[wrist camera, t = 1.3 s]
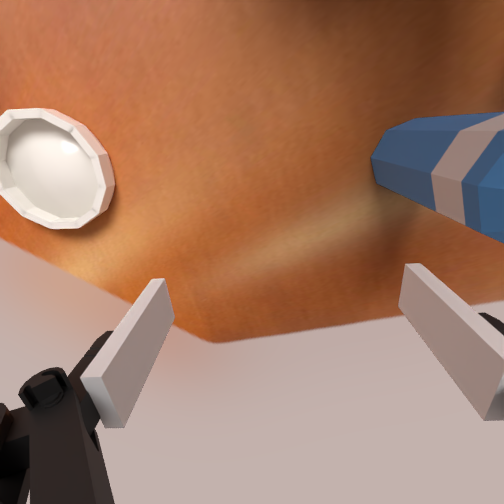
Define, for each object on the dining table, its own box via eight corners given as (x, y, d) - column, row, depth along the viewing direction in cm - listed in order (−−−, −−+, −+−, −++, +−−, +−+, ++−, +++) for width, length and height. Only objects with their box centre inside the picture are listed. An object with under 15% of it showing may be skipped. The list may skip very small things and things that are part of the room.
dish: (-15, 113, 35) (-37, 111, 32) (98, 107, 34) (84, 105, 32) (29, 223, 41) (14, 230, 39) (125, 221, 40) (116, 227, 38)
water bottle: (395, 207, 38) (591, 322, 15) (355, 157, 36) (519, 207, 13) (458, 158, 35) (813, 210, 13) (419, 100, 33) (777, 34, 10)
